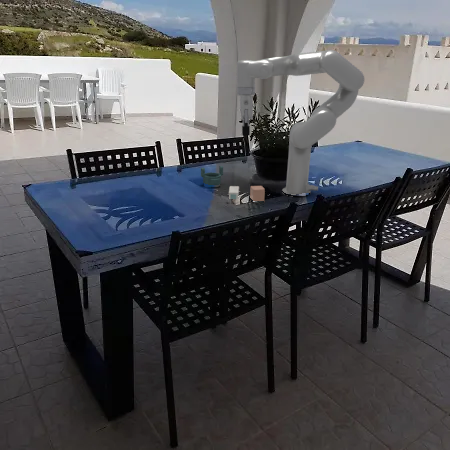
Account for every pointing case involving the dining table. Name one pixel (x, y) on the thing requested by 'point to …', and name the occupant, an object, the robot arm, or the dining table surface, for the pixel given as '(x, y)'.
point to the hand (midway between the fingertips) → (245, 135)
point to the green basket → (212, 176)
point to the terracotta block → (257, 193)
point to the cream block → (233, 192)
